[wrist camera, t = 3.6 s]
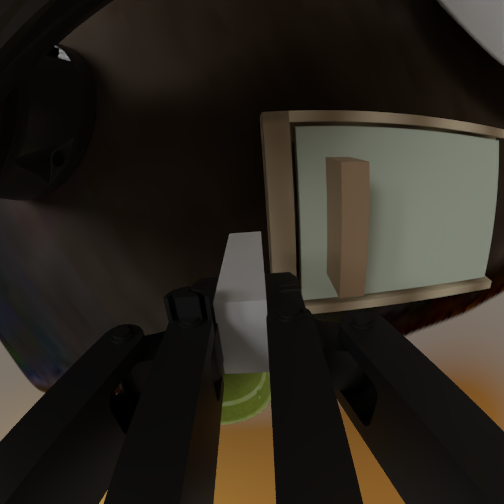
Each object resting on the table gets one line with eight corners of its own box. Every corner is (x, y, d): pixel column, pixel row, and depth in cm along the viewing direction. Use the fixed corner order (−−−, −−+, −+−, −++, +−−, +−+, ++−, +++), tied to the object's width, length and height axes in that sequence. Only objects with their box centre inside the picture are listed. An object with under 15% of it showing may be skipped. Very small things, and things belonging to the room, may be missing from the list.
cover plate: (299, 292, 23) (309, 328, 19) (292, 127, 19) (305, 124, 14) (477, 271, 23) (507, 295, 18) (489, 139, 19) (528, 145, 14)
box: (270, 282, 27) (274, 317, 22) (259, 117, 22) (261, 112, 17) (459, 264, 27) (489, 287, 22) (469, 127, 22) (507, 130, 17)
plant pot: (161, 284, 27) (131, 340, 19) (264, 274, 27) (270, 332, 19) (184, 362, 31) (168, 424, 23) (273, 356, 30) (279, 421, 22)
